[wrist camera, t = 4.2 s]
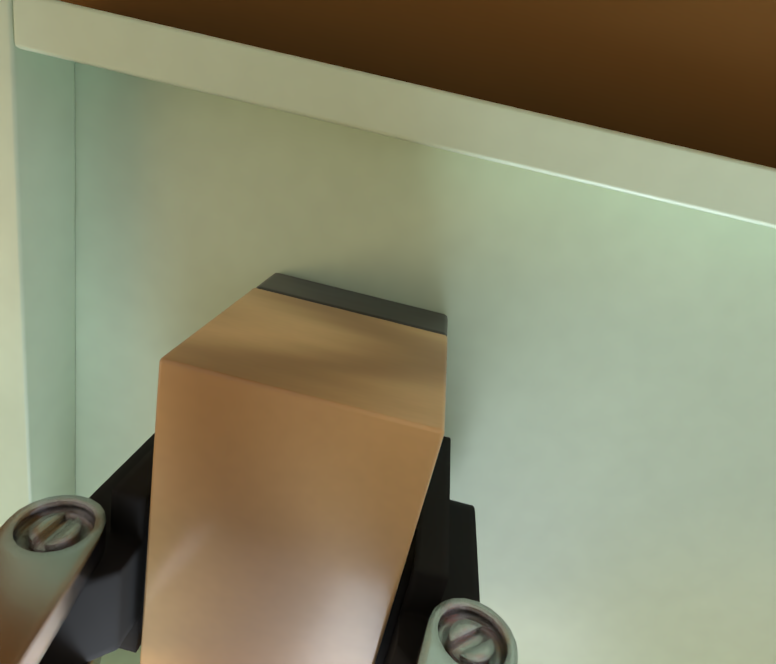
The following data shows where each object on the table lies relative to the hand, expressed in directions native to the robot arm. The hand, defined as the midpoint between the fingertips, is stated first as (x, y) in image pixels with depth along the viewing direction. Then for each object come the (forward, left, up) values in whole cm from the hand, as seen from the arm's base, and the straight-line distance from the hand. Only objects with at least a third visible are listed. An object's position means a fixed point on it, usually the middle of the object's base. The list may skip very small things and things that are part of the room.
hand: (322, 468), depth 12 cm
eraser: (0, 0, 0) cm, 0 cm away
